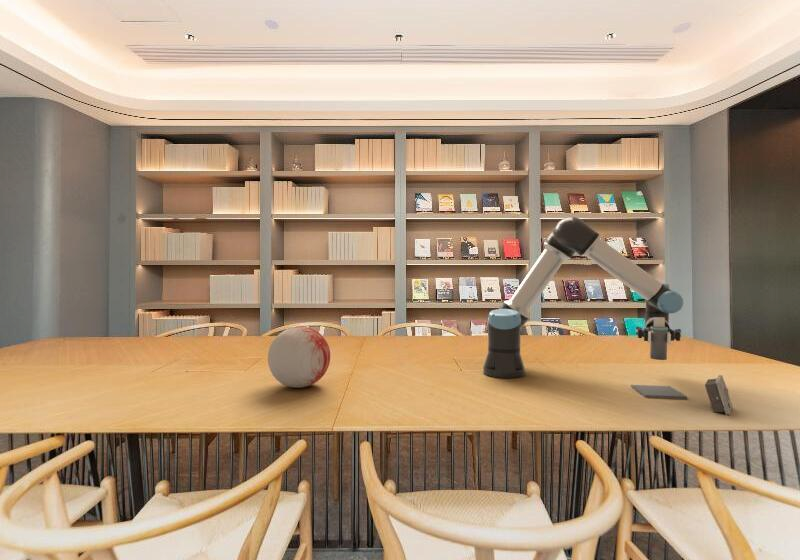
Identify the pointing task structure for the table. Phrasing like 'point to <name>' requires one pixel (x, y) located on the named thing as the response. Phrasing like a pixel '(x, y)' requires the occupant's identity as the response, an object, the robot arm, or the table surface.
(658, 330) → the trash can
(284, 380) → the decorative orb
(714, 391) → the electrical switch
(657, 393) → the pad
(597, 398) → the table surface
